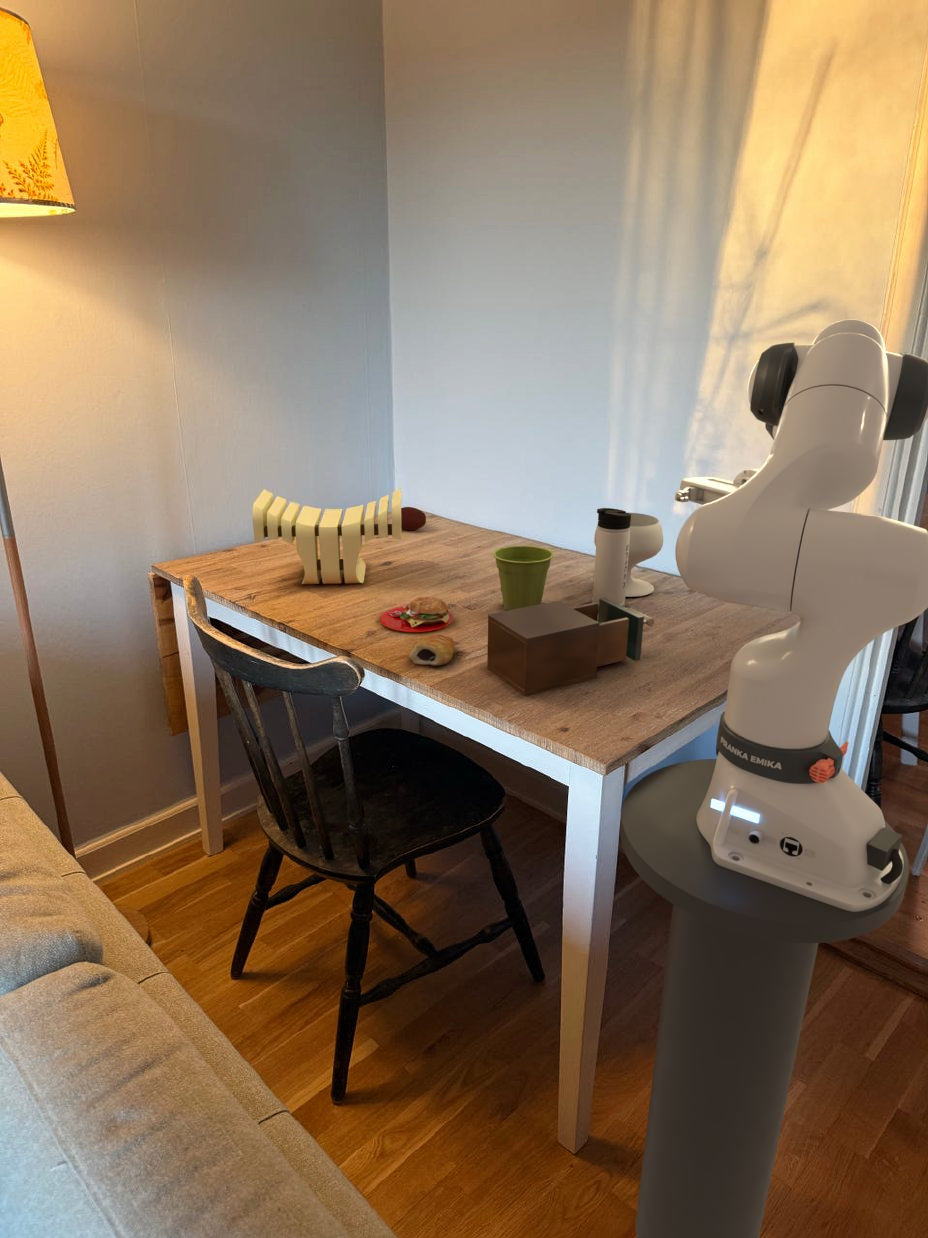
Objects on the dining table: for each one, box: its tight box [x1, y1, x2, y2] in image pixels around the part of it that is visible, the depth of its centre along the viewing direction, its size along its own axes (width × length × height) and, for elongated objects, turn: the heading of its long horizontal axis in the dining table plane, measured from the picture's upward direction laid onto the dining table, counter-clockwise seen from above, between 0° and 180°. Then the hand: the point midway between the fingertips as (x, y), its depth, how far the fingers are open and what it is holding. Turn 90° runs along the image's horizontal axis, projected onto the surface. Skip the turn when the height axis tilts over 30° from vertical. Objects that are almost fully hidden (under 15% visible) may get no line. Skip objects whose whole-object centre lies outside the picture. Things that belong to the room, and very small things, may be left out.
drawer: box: [569, 598, 655, 668], centre depth 139 cm, size 17×10×8 cm, turn 119°
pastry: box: [409, 633, 456, 667], centre depth 140 cm, size 9×7×4 cm
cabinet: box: [486, 600, 600, 697], centre depth 133 cm, size 14×12×10 cm
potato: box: [401, 506, 427, 531], centre depth 216 cm, size 8×9×6 cm
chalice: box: [593, 512, 664, 598], centre depth 171 cm, size 14×14×15 cm
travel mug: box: [591, 507, 631, 612], centre depth 160 cm, size 6×7×20 cm
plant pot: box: [492, 545, 555, 611], centre depth 161 cm, size 12×12×11 cm
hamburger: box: [379, 596, 455, 633], centre depth 156 cm, size 14×14×6 cm
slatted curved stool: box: [252, 487, 403, 585], centre depth 178 cm, size 30×16×18 cm, turn 94°
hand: (697, 502), depth 139 cm, fingers open, 8 cm apart
